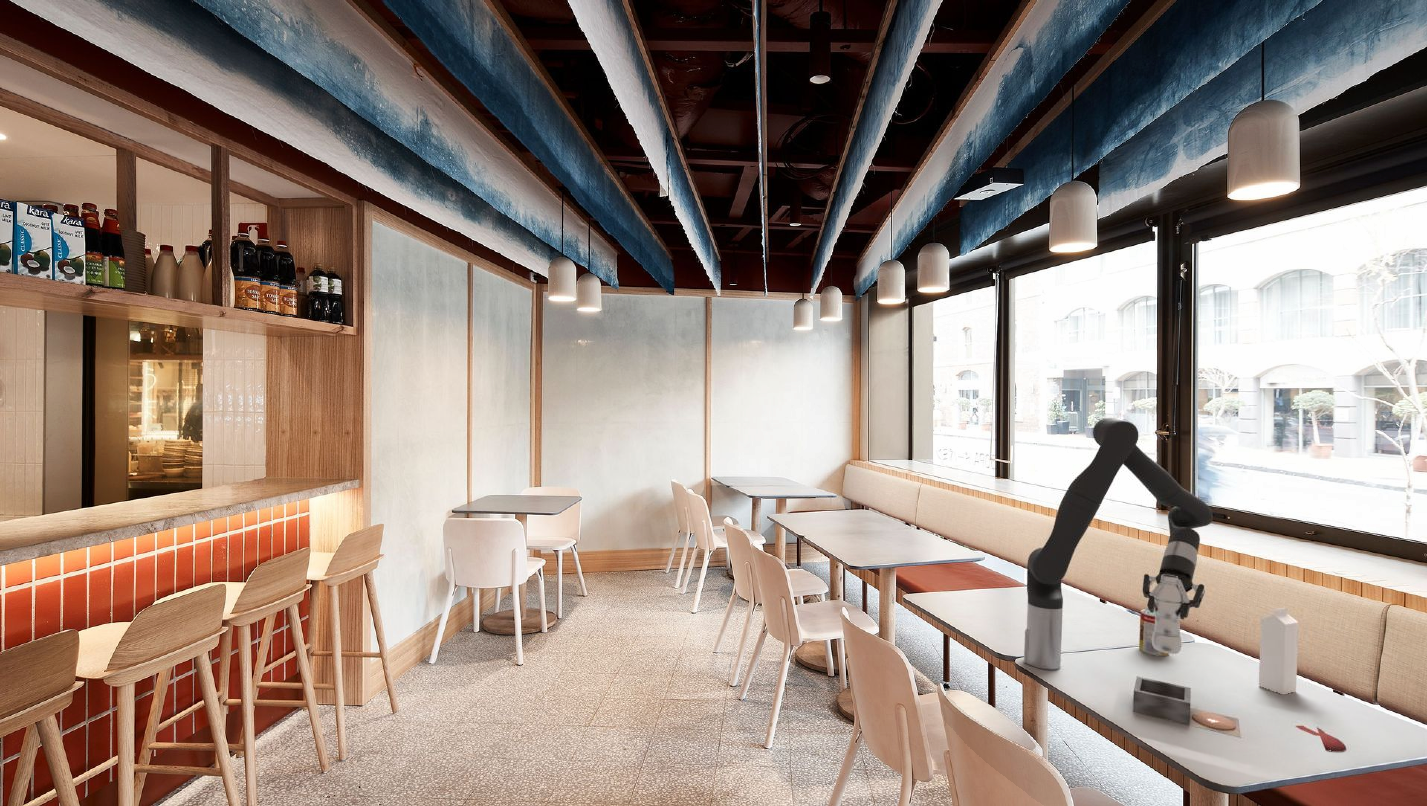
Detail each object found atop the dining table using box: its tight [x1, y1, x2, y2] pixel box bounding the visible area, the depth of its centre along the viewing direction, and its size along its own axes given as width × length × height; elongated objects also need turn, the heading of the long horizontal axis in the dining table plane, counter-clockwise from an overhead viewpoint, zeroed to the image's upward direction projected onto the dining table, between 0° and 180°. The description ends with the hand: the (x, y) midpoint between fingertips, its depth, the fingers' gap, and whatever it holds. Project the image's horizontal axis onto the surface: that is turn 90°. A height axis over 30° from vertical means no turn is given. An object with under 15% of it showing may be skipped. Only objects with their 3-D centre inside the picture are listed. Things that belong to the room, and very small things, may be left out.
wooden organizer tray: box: [1132, 676, 1242, 739], centre depth 170 cm, size 21×12×6 cm, turn 56°
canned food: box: [1138, 608, 1170, 657], centre depth 219 cm, size 8×8×12 cm
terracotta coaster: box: [1192, 712, 1236, 730], centre depth 166 cm, size 8×8×1 cm
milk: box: [1258, 607, 1300, 696], centre depth 192 cm, size 6×6×22 cm
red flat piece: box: [1294, 725, 1347, 752], centre depth 163 cm, size 18×14×2 cm
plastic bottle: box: [1152, 574, 1183, 655], centre depth 185 cm, size 6×7×20 cm
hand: (1166, 614), depth 183 cm, fingers closed on plastic bottle, 6 cm apart
